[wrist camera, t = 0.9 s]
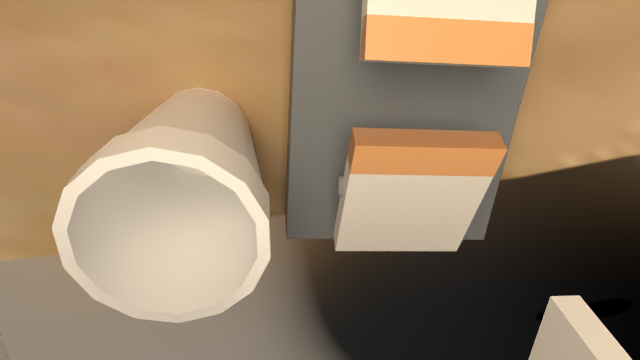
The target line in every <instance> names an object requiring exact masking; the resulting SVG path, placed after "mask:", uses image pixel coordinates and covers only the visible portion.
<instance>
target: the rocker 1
mask: <svg viewBox="0 0 640 360" xmlns="http://www.w3.org/2000/svg"><path fill="white" fill-rule="evenodd" d="M536 2H537V0H362V14H361V35H360V55H359V62H379V63H401V64H424V65H446V66H469V67H491V68H514V69H515V68H525V67H530V62H531V52H532V43H533V34H534V25H535V23H534V21H535V11H536Z"/></svg>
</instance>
